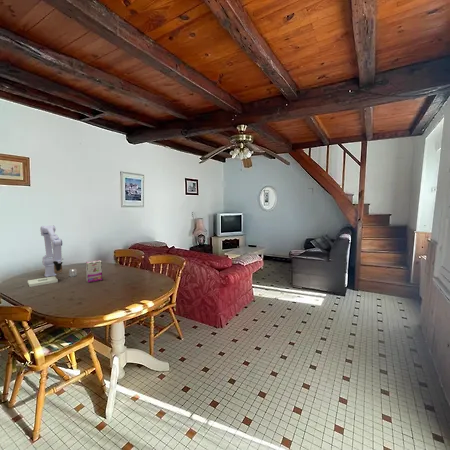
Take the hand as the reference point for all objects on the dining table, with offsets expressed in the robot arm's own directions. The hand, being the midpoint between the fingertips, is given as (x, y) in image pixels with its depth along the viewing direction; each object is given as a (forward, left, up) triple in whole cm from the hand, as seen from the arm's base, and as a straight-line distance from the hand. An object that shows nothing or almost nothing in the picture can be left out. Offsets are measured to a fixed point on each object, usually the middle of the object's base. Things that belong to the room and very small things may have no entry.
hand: (57, 270), depth 199 cm
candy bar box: (+19, +22, -9) cm, 30 cm away
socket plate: (-2, -10, -9) cm, 13 cm away
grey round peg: (-6, +12, -9) cm, 16 cm away
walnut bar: (0, 0, -2) cm, 2 cm away
